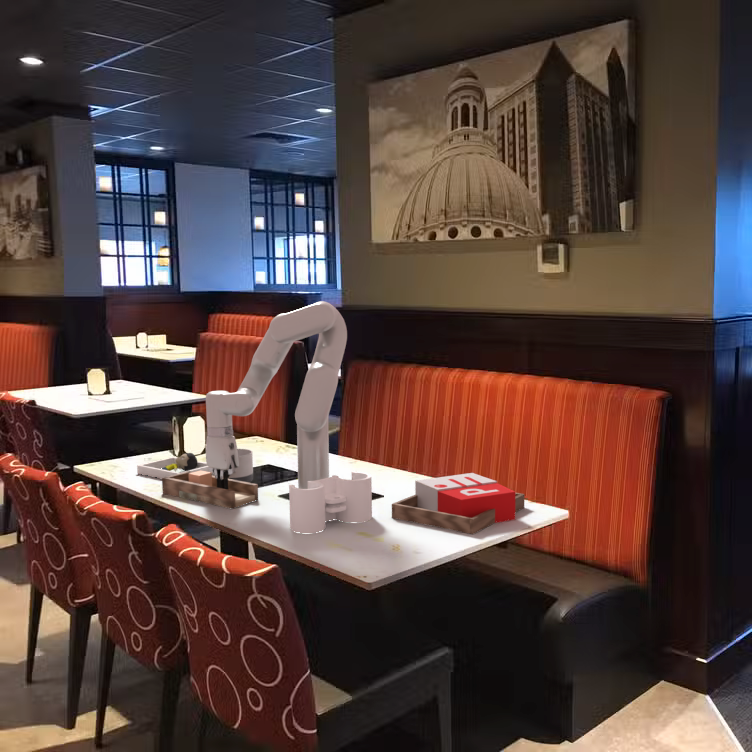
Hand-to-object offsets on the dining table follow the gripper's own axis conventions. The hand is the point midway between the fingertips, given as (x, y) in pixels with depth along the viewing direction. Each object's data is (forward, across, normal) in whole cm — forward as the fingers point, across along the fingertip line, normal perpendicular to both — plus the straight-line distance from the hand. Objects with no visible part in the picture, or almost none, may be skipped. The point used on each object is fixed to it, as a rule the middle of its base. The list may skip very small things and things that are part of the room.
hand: (222, 490), depth 251 cm
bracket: (+4, -43, -1) cm, 43 cm away
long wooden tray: (+3, +6, 0) cm, 7 cm away
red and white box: (+4, -68, -30) cm, 74 cm away
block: (+1, +10, 0) cm, 10 cm away
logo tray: (+4, -66, -29) cm, 73 cm away
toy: (+3, +38, -14) cm, 41 cm away
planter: (+3, +12, -15) cm, 19 cm away
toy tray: (+3, +38, -14) cm, 41 cm away
